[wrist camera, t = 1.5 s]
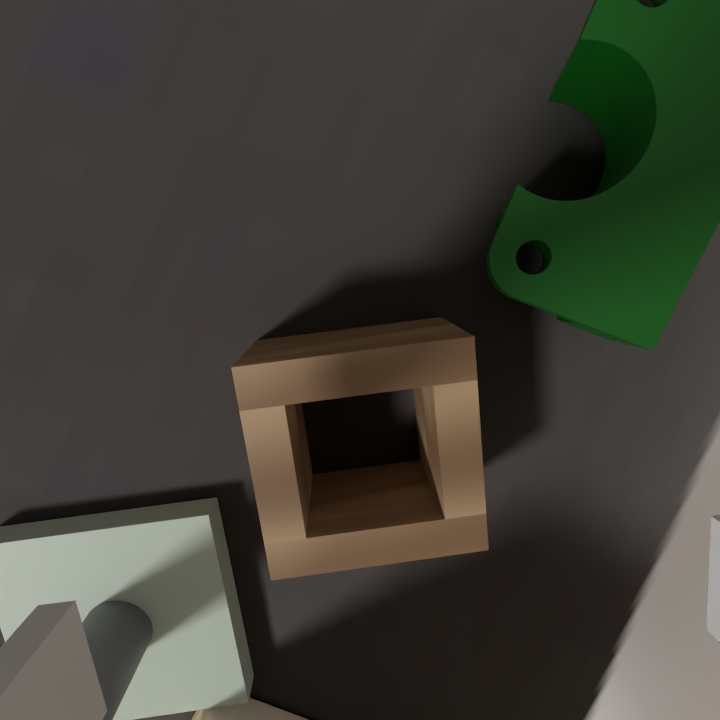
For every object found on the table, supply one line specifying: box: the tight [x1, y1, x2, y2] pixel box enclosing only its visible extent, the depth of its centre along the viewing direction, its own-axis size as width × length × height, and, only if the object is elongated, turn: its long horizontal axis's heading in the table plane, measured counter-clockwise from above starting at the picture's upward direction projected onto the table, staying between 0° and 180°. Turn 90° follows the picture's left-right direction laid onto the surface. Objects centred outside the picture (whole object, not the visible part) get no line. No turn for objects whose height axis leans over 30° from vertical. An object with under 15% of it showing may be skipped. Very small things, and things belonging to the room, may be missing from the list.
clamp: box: [486, 0, 720, 350], centre depth 17 cm, size 12×6×9 cm, turn 153°
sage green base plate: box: [0, 497, 254, 720], centre depth 18 cm, size 10×10×10 cm
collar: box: [231, 317, 489, 581], centre depth 19 cm, size 8×8×5 cm
